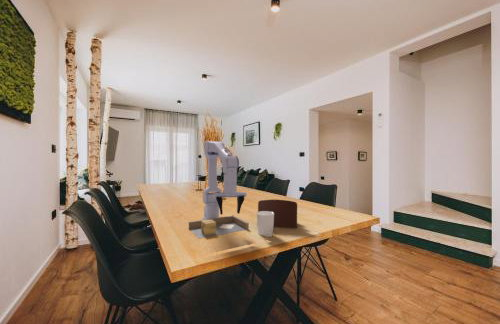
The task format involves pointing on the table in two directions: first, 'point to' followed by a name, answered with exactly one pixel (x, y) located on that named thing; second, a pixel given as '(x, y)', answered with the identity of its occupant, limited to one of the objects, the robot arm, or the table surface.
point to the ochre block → (208, 227)
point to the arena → (220, 226)
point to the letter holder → (281, 212)
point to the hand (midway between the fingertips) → (229, 213)
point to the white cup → (265, 223)
